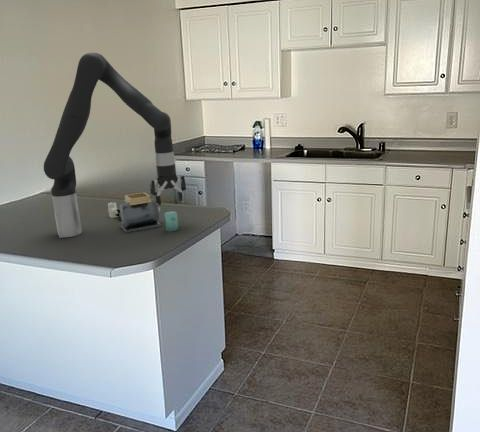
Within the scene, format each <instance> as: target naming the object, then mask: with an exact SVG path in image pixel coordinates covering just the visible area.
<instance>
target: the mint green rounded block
mask: <svg viewBox="0 0 480 432" xmlns="http://www.w3.org/2000/svg"><path fill="white" fill-rule="evenodd" d="M177 213H178V212H177V211H167V212H164V214H163V215H164V221H165V222H164V223H165V231H167V232H175V231H178V230H179V222H178V214H177Z"/></svg>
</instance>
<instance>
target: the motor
mask: <svg viewBox="0 0 480 432" xmlns="http://www.w3.org/2000/svg"><path fill="white" fill-rule="evenodd" d="M124 202H125V203H120V205H119V210H120V217H121V220H120V221H121V222H122V223H121V224H120V228H121V229H122V230H123V231H124V232H125V233H126V232H127V233H131V231H133V232H137V230H138V231H144V230H149V229H154V228H158V227H162V223H161V222H159V219H160V214H159V213H160V212H161V210H162V209H161V207H160V206H159V205H158V204H157V202H156V198H151V195H149V194H148V193H146V192H145V191H144V192H139V193H131V194H125V195H124Z"/></svg>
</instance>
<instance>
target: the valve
mask: <svg viewBox="0 0 480 432" xmlns="http://www.w3.org/2000/svg"><path fill="white" fill-rule="evenodd" d="M107 207H108V208H107V211H108V214H109V215H108V217H109V218H111V219H115V218H116V219H117V221H122V220H121V215H120V208H118V207H117V202H108V203H107Z"/></svg>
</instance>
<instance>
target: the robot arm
mask: <svg viewBox="0 0 480 432" xmlns="http://www.w3.org/2000/svg"><path fill="white" fill-rule="evenodd" d="M98 81H100V82H102V83H104V84H105V85H106V86H107V87H109V88H110V89H111V90H112V91H113V92H114V93H115V94H116V95H117V96H118V97H119V98H120V99H121V101H122V102H123V103H124V104H125V105H126V106H127V107H129V109H131V110H132V111H134V112H135V113H136V114H137V115H138V116H140V117H141V118H142V119H143V120H144V121H145V122H146V123H147V124H148V125H149V126H150V127H151V128H152V129H153V130H154V150H155V151H154V154H155V166H156V175H157V178H156V179H149V188H150V189H149V190H150V194H151V195H152V196H155V201H156V203H157V206H161V205H162V200H161V194H162V192H163V191H164V190H168V189H173V188H174V189H175V190H176V191H177V192H176V194H177V201H178V202H179V203H180V202H182V200H183V192H184V191H186V190H187V185H186V179H185V175H182V174H180V175H178V176H177V169H176V159H175V153H174V146H173V139H172V121H171V117H170V115H169V114H168V113H167V112H164V111H161V109H159V108H158V107H157V106H155V105H154V104H153V103H152V101H151V100H150V99H149V98H148V97H147V96H145V95H144V94H143V93H142V92H140V91H139V90H138V88H136V87H135V86H134V85H132V84H131V83H129V81H127V80H126V79H125V78H124V77H123V76H122V75H121V74H120V73H118V71H117V70H116V69H115V68H114V67H113V66H112V65H111V63H110V62H109V61H108V60H107V59H106V57H104V56H103V54H101V53H98V52H87V53H85V54H83V55H82V56H81V57H80V59H79V61H78V64H77V68H76V73H75V78H74V81H73V86H72V88H71V91H70V93H69V95H68V97H67V100H66V104H65V106H64V109H63V113H62V114H61V118H60V122H59V124H58V127H57V130H56V133H55V135H54V136H55V137H54V140H53V143H52V144H51V147H50V149H49V151H48V154H47V155H46V158H45V160H44V162H43V172H44V174H45V176H46V177H47V178H49V179H50V180H54V181H53V184H52V187H51V189H50V193H51V198H52V204H53V210H54V219H55V224H56V225H55V226H56V230H57V235H58V237H59V238H60V239H61V238H74V237H76V236H79V235H82V233H83V231H82V230H83V229H82V223H81V216H80V211H79V206H78V205H79V204H78V198H77V190H76V187H77V176H76V175H77V174H76V168H75V163H74V160H73V158H72V157H71V156H70V155H71V152H72V150H73V148H74V146H75V145H76V144H77V142H78V141H79V139H80V138H81V136H82V135H83V133H84V131H85V129H86V126H87V123H88V121H89V118H90V115H91V114H90V113H91V107H92V97H93V93H94V90H95V88H96V87H97V83H98ZM178 181H179V182H180V187H179V186H178V184H177V182H178ZM157 184H158V187H157V189H156V187H155V186H156V185H157Z"/></svg>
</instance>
